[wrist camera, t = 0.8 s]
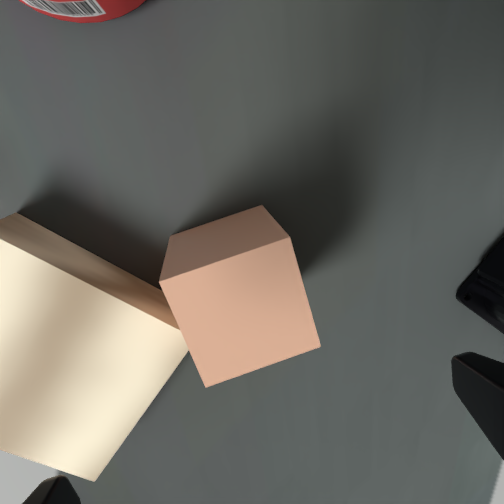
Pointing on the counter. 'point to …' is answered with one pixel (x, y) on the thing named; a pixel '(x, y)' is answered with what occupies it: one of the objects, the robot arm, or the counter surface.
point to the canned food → (83, 9)
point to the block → (237, 295)
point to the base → (76, 350)
